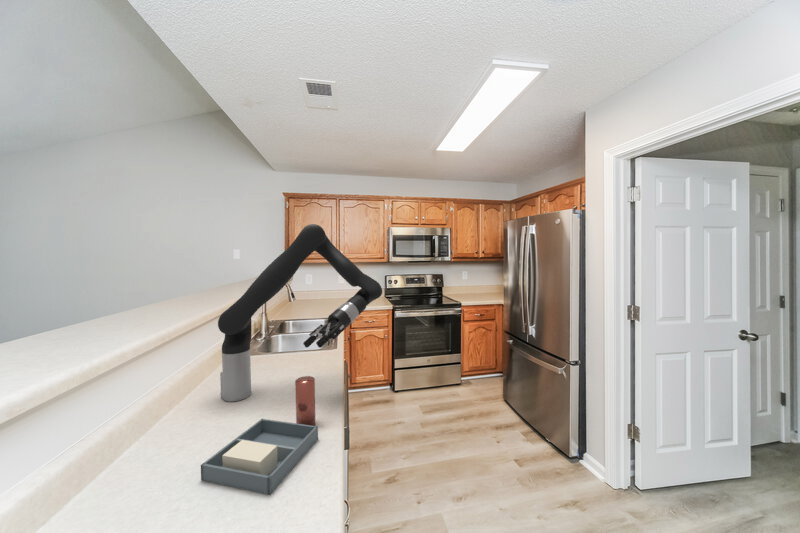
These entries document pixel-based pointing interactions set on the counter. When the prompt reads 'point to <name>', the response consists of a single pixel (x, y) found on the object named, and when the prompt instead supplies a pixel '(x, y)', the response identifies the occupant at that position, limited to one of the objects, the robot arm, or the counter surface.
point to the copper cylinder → (305, 400)
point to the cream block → (252, 457)
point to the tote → (285, 435)
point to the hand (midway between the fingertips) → (311, 345)
